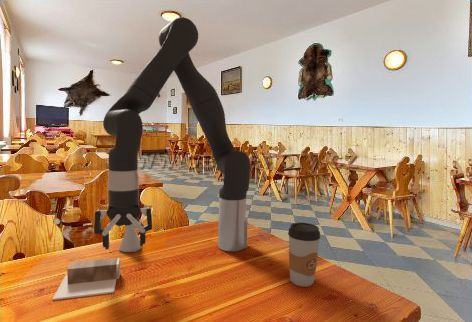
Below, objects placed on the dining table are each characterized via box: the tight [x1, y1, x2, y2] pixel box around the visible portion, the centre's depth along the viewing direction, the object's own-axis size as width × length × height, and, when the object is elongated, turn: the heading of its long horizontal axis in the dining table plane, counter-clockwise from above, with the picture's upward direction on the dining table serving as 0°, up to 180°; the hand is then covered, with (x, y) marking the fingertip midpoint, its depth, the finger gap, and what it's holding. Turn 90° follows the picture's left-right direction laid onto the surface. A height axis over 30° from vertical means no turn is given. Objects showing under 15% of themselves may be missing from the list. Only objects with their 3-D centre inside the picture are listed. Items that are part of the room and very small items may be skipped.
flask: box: [118, 224, 143, 253], centre depth 98 cm, size 7×7×10 cm
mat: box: [52, 273, 118, 301], centre depth 77 cm, size 13×16×1 cm
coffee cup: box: [287, 222, 321, 288], centre depth 79 cm, size 8×8×15 cm
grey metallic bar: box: [66, 257, 121, 284], centre depth 78 cm, size 4×4×12 cm
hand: (124, 246), depth 79 cm, fingers open, 8 cm apart
